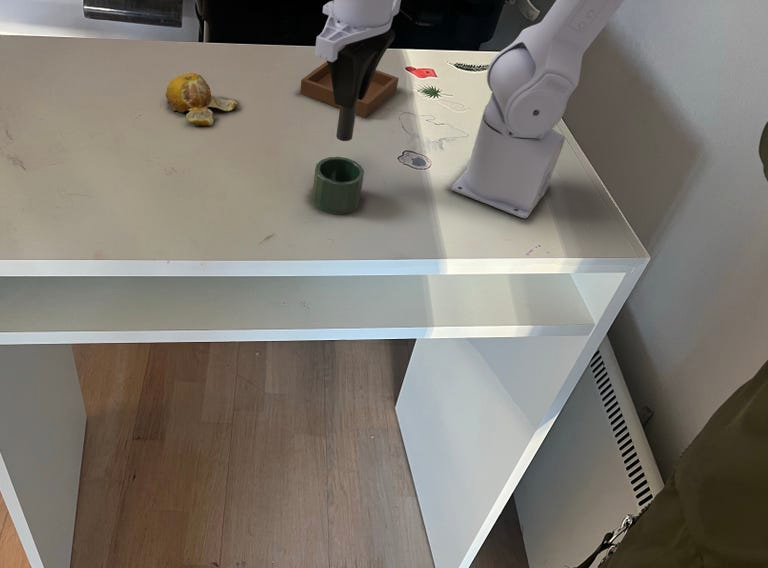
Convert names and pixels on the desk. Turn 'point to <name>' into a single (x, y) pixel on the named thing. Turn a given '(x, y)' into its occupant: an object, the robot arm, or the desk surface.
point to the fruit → (195, 98)
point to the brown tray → (377, 93)
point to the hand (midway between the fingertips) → (349, 100)
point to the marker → (346, 123)
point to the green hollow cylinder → (337, 185)
